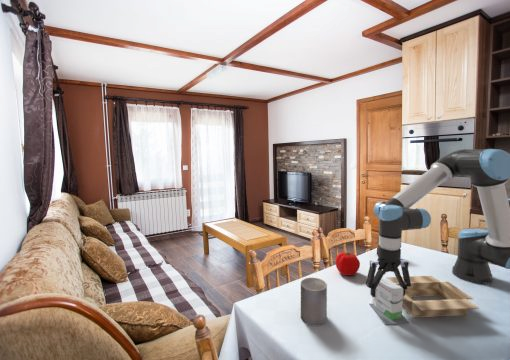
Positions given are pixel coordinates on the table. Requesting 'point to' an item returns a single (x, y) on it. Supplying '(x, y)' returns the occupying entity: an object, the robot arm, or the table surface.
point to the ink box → (390, 299)
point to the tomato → (347, 263)
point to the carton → (430, 286)
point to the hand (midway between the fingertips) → (387, 303)
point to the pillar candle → (313, 301)
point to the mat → (387, 320)
